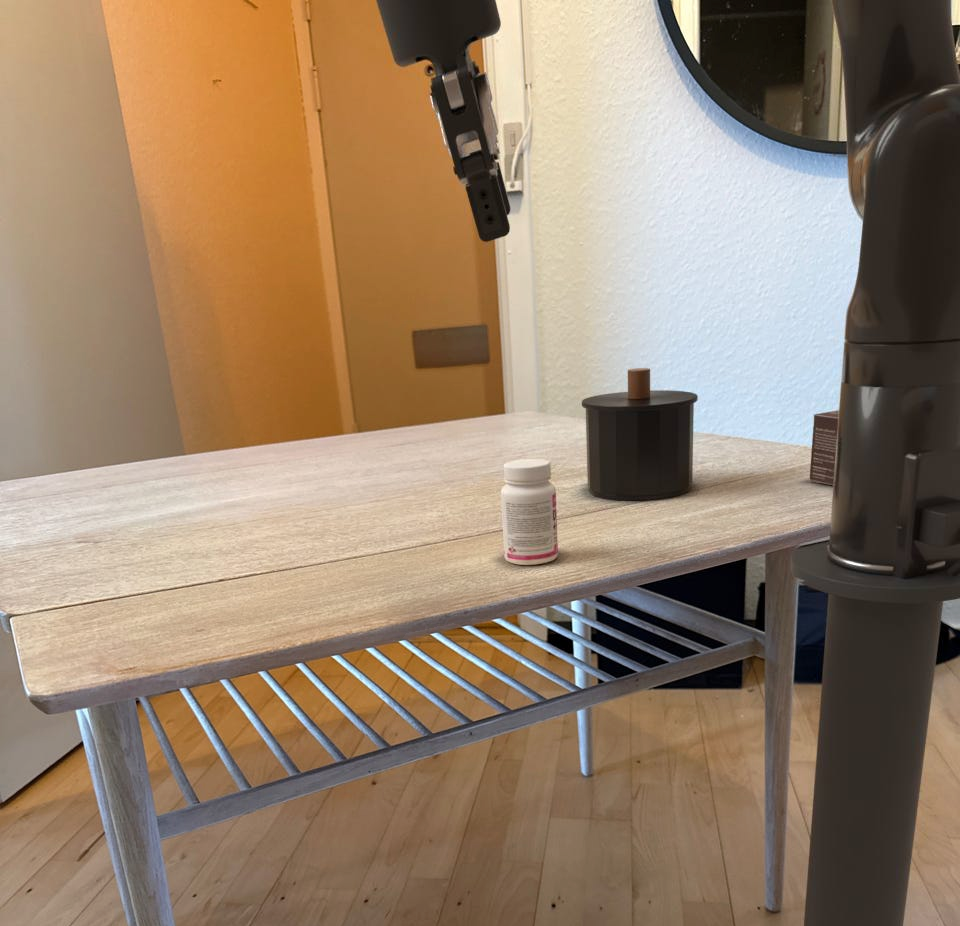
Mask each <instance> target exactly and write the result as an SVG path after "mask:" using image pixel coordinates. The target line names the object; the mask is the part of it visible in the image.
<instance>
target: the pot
mask: <svg viewBox="0 0 960 926" xmlns="http://www.w3.org/2000/svg"><path fill="white" fill-rule="evenodd" d="M694 405H695V403H692V404H689V405H685V406H680V407H674V408H667V409H658V410H644V411H599V410H591V409H586V408H585V434H586V437H585V439H586V440H585V441H586V473H587V477H586V478H587V487H588V493H589V494H590V495H591V496H594V497H595V498H601V499H605V500H612V501H623V502H627V501H629V502H632V501H634V502H637V501H642V502H643V501H654V500H662V499H670V498H674V497H678V496H681V495H684V494H686V493H689V492H690V491H691V489H692V485H693V476H694V475H693V473H694V470H693V469H694V415H695V414H694V413H695V412H694V409H695V408H694Z"/></svg>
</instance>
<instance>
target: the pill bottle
mask: <svg viewBox="0 0 960 926" xmlns="http://www.w3.org/2000/svg"><path fill="white" fill-rule="evenodd" d="M503 478H504V482H505V483H506V484H505V485H503V486H502V488H501V489H500V507H501V508H500V509H501V523H502V524H501V525H502V540H503V541H502V542H503V556H504V559H505V560H506V561H507V562H509V563H511V564H514V565H520V566H533V565H542V564H547V563H549V562H552V561H554V560H555V559H556V558H557V557H558V555H559V541H558V515H557V514H558V512H557V491H556V490H557V489H556V486H555V485H554V484H553V483H552V482H550V480H551V479H552V467H551V461H550V460H548V459H542V458H523V459H515V460H510V461H507V462H505V463H504V464H503Z"/></svg>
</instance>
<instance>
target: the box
mask: <svg viewBox="0 0 960 926" xmlns="http://www.w3.org/2000/svg"><path fill="white" fill-rule="evenodd" d="M838 416H839V409H838V410H832V411H825V412H821V413H815V414H813V426H812V441H811V452H810V456H811V457H810V468H809V469H810V470H809V480H810V482H812V483H816V484H824V485H829V486H833V483H834V470H835V456H836V443H837V429H838Z"/></svg>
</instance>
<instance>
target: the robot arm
mask: <svg viewBox="0 0 960 926" xmlns="http://www.w3.org/2000/svg"><path fill="white" fill-rule="evenodd" d="M375 2H376V5H377V8H378V11H379V15H380V18H381V22H382V25H383V28H384V32H385V35H386V38H387V41H388V45H389V48H390V51H391V55H392V58H393V61H394V63H395V64H396V65H397V66H398V67H400V68H406V67H408V66H413V65H415V64H417V63H420V62H423V61H428V62H430V63H431V65H432V66H433V71H434V75H435V76H434V77H431V78H430V85H429V88H430V91H431V92H429V98H430V102H431V107H432V110H433V113H434V114H435V117H436V119H437V121H438V122H439V126H440V129H441V130H440V131H441V135H442V138H443V142H444V147H445V148H446V149H445V150H446V151H447V153H448V156H449V158H451V159H452V162H453V166H452V169H453V173H454V176H457V179H458V182H459V183H461V185H462V187H465V192H466V195H467V198H468V203H469V205H470V210H471V213H472V216H473V219H474V223H475V226H476V227H475V228H476V231H477V234H478V237H479V239H480V240H481V241H482V242H484V243H488V242H491V241H494V240H497V239H501V238H505V237H507V236H508V235H509V233H510V230H511V226H510V225H511V224H510V221H509V218H508V216H509V214H510V213H511V204H510V200H509V197H508V193H507V189H506V185H505V182H504V181H505V180H504V177H503V173H502V169H501V166H500V163H499V162H500V161H498V160H500V154H501V152H500V148H499V146H498V143H499V140H498V137H497V135H498V134H499V129H498V124H497V119H496V115H495V112H494V109H493V105H492V101H493V94H492V90H491V85H490V81H489V78H488V74H487V72H486V71H485V72H482V73H481V71H480V68H479V67H480V66H479V65H477V64H476V61H475V60H472V57H471V55H470V48H471V46H472V45H473V44H474V43H475V42H478V41H481V40H483V39H487V38H489V37H492V36H494V35H496V34H498V32H499V31H500V29H501V25H502V21H501V16H500V13H499V9H498V4H497V1H496V0H375ZM830 3H831V7H832V13H833V16H834V17H833V18H834V21H835V25H836V31H837V35H838V41H839V47H840V56H841V63H842V73H843V74H842V75H843V93H844V111H845V128H846V129H845V130H846V133H845V134H846V161H847V162H846V165H847V168H846V169H847V186H848V193H849V198H850V201H851V204H852V206H853V208H854V210H855V212H856V214H857V216H858V218H859V219H860V220H861V221H862V224H861V225H862V226H861V237H860V246H859V257H858V267H857V274H856V278H855V279H856V280H855V282H854V283H855V284H854V288H853V291H852V293H851V294H852V295H851V297H850V300H849V302H848V305H847V308H846V313H845V324H844V335H843V338H844V341H843V352H842V365H841V379H840V380H841V381H840V391H839V392H840V393H839V404H838V405H839V406H838V410H839V416H838V429H837V443H836V456H835V470H834V483H833V485H832V495H831V496H832V499H831V514H830V527H829V528H830V529H829V539H828V540H829V545H828V549H827V558H828V560H829V561H830V562H832V563H833V564H835V565H837V566H840V567H842V568H845V569H849V570H852V571H857V572H862V573H868V574H876V575H887V576H894V577H898V578H901V579H910V578H914V577H918V576H922V575H926V574H931V573H935V572H939V571H943V570H947V569H948V573H949V574H950V575H951V576H957V575H958V574H959V573H960V69H959V63H958V57H957V50H956V44H955V38H954V29H953V19H952V0H830Z"/></svg>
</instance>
